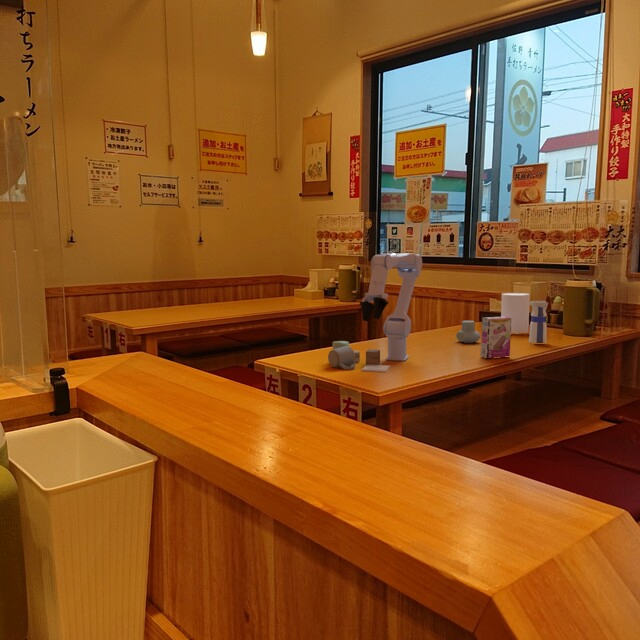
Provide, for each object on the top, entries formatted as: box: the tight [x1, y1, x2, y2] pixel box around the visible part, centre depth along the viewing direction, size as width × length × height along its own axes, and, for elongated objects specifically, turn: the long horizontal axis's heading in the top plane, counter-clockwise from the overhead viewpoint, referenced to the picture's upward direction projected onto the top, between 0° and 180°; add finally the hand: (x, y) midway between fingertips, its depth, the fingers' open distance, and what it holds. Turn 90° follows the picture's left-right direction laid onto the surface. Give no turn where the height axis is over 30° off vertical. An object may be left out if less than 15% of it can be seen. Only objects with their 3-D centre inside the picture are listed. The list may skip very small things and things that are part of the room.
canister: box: [500, 292, 531, 334], centre depth 304 cm, size 14×14×20 cm
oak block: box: [353, 350, 361, 363], centre depth 236 cm, size 4×4×4 cm
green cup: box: [332, 340, 350, 350], centre depth 234 cm, size 6×6×8 cm
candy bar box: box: [480, 316, 512, 359], centre depth 240 cm, size 11×5×16 cm, turn 111°
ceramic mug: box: [327, 345, 356, 371], centre depth 224 cm, size 11×8×8 cm
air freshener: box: [455, 320, 481, 344], centre depth 277 cm, size 11×8×10 cm
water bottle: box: [528, 291, 550, 344], centre depth 272 cm, size 8×9×25 cm
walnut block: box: [365, 348, 381, 366], centre depth 229 cm, size 5×5×6 cm
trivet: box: [361, 364, 391, 373], centre depth 221 cm, size 9×9×1 cm
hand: (370, 319), depth 218 cm, fingers open, 7 cm apart
